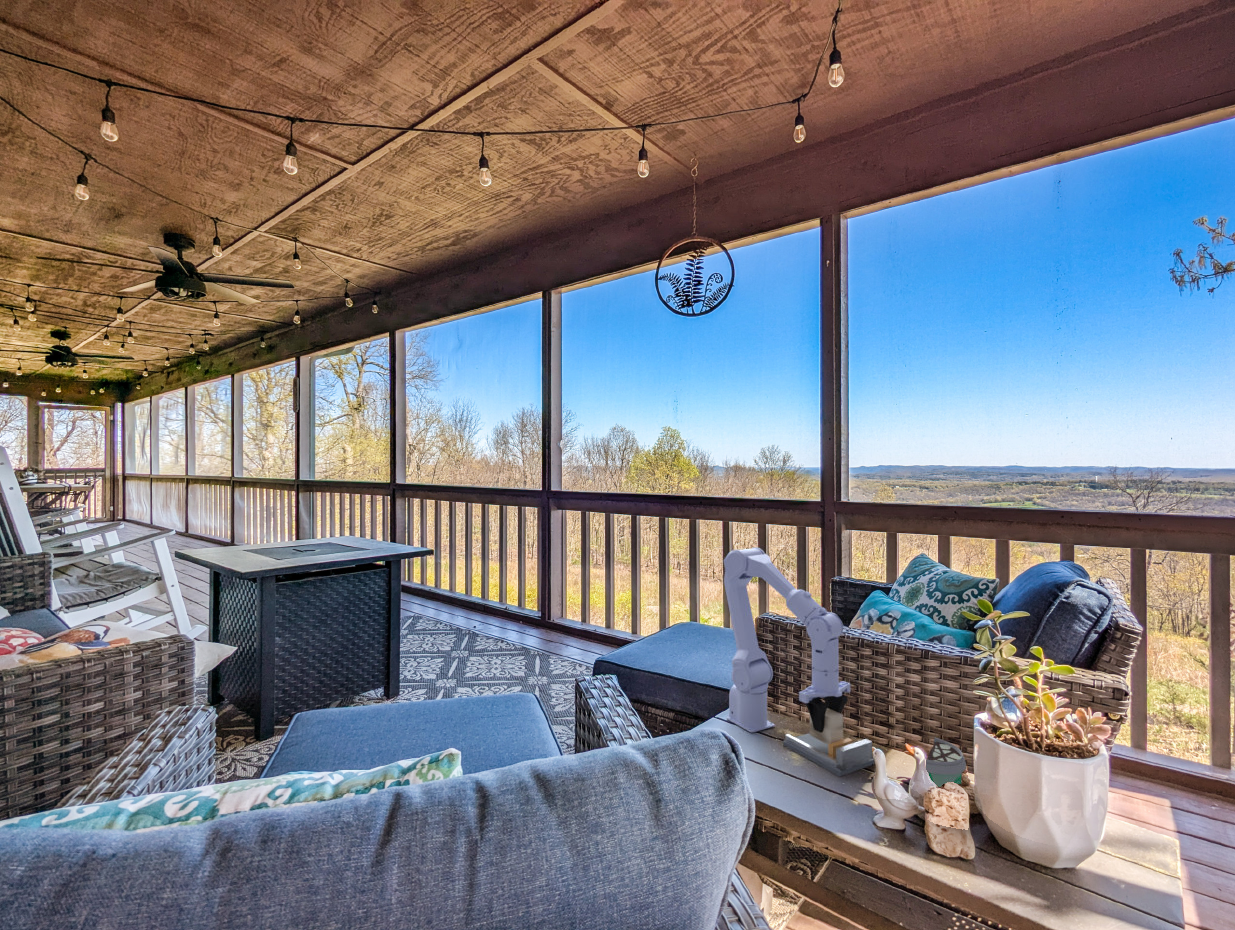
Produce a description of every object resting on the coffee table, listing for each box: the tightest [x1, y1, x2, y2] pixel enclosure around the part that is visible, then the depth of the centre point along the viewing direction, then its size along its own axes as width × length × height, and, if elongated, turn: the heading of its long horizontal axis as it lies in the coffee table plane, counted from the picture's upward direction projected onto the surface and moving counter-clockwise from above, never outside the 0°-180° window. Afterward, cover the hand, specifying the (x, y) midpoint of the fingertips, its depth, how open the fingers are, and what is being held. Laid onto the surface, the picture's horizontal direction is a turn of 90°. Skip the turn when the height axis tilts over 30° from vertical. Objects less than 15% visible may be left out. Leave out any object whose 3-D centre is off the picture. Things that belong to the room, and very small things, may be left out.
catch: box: [828, 737, 854, 759], centre depth 125 cm, size 1×6×3 cm, turn 119°
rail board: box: [782, 732, 875, 777], centre depth 128 cm, size 16×11×5 cm
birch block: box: [809, 708, 844, 744], centre depth 129 cm, size 6×4×6 cm, turn 29°
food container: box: [925, 737, 967, 787], centre depth 108 cm, size 12×6×10 cm, turn 143°
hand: (825, 728), depth 129 cm, fingers closed on birch block, 4 cm apart
